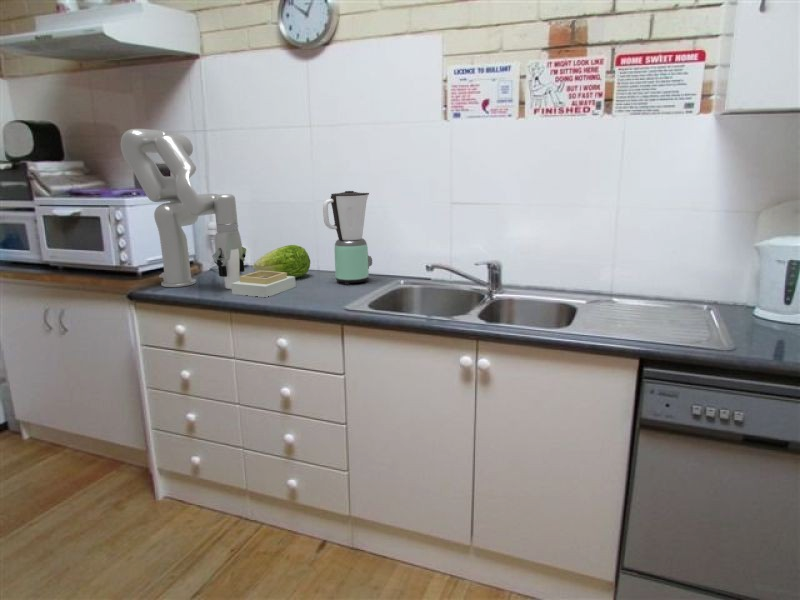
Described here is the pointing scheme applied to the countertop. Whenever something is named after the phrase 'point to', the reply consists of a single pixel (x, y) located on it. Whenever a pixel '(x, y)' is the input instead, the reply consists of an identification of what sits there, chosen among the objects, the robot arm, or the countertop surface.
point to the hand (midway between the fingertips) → (232, 274)
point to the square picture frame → (263, 284)
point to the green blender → (349, 236)
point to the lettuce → (285, 261)
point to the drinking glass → (232, 268)
